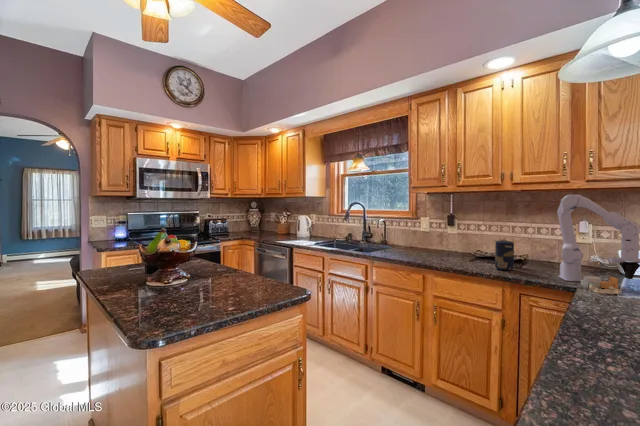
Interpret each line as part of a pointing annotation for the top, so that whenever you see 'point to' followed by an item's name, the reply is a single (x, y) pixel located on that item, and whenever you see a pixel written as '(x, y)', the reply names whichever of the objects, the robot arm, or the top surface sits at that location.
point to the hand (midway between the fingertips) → (629, 278)
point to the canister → (504, 255)
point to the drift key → (610, 283)
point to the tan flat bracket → (605, 290)
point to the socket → (590, 284)
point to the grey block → (591, 281)
